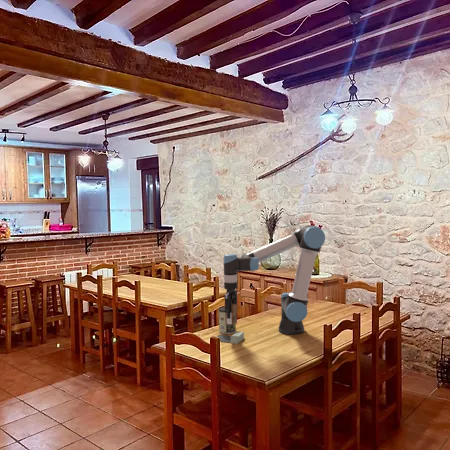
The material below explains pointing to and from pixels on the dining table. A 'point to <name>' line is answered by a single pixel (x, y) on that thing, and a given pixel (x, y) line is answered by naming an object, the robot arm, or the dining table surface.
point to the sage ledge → (237, 337)
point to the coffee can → (222, 327)
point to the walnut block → (234, 315)
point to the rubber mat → (224, 338)
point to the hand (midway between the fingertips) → (231, 322)
